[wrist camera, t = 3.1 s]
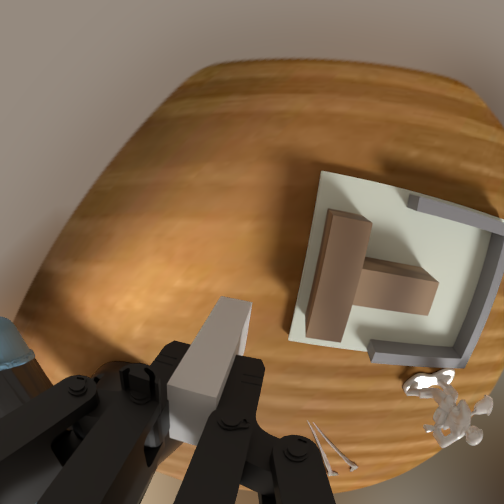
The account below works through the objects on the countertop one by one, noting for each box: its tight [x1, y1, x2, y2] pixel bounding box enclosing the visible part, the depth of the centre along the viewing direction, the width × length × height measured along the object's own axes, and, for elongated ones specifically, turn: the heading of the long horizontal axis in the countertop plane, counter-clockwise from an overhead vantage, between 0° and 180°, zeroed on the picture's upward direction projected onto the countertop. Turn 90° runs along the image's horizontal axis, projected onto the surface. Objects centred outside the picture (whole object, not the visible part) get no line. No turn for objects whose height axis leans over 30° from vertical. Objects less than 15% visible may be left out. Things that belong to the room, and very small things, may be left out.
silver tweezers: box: [307, 420, 358, 476], centre depth 33 cm, size 18×5×2 cm, turn 30°
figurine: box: [403, 368, 493, 448], centre depth 23 cm, size 5×9×12 cm, turn 111°
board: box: [288, 171, 504, 368], centre depth 24 cm, size 20×16×3 cm
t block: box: [305, 208, 439, 343], centre depth 24 cm, size 10×10×4 cm
